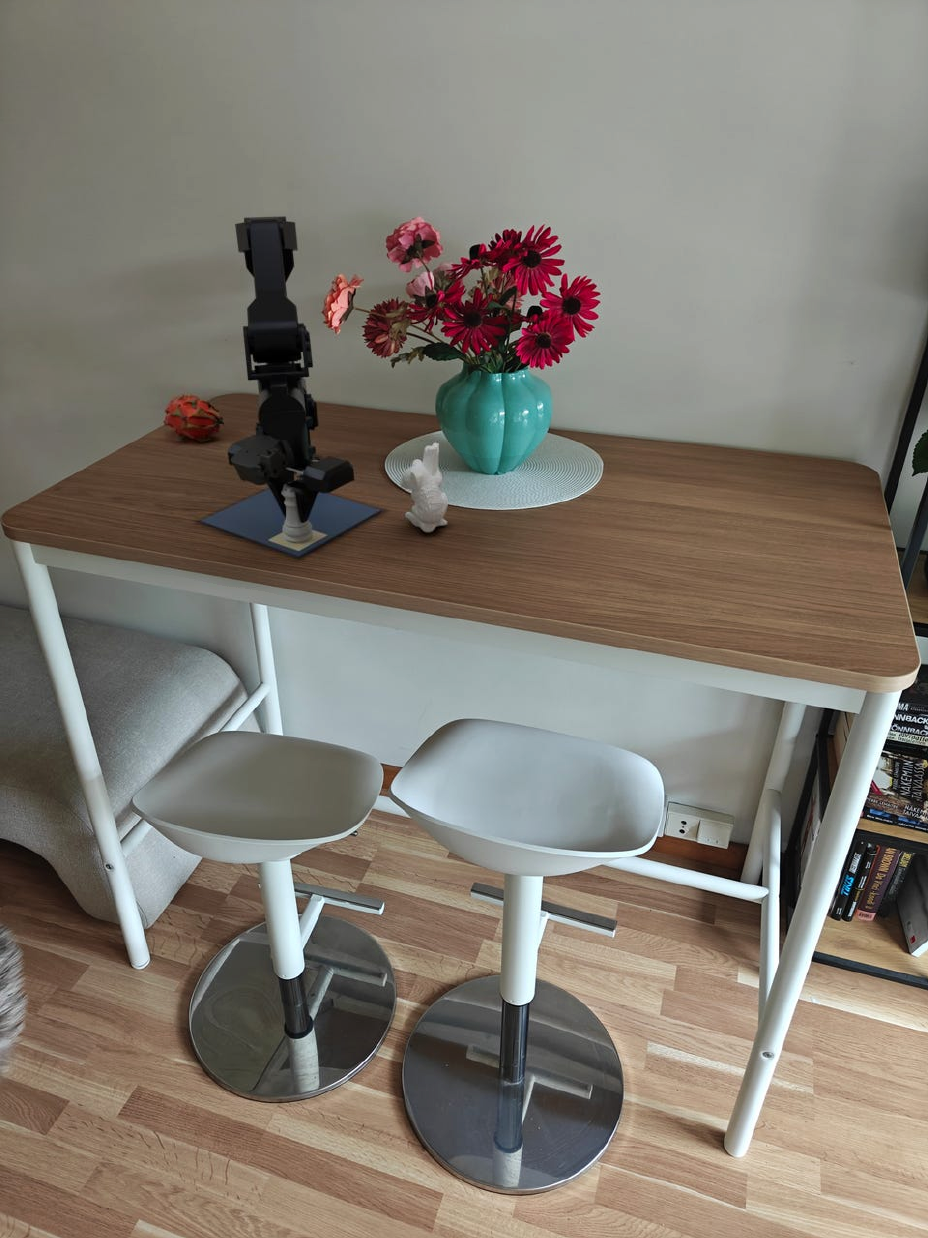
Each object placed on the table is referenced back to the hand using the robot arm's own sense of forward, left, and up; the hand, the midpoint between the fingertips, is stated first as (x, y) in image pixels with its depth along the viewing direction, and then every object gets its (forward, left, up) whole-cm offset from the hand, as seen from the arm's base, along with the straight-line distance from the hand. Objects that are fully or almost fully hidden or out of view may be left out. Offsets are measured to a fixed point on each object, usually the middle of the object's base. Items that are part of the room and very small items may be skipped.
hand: (296, 519), depth 125 cm
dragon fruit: (-20, -44, -3) cm, 48 cm away
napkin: (-5, -6, -3) cm, 8 cm away
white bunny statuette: (-14, +13, -3) cm, 19 cm away
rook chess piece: (0, 0, -3) cm, 3 cm away
